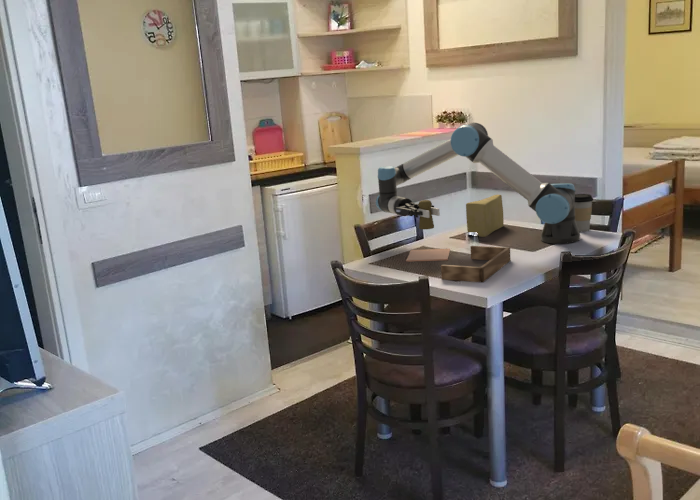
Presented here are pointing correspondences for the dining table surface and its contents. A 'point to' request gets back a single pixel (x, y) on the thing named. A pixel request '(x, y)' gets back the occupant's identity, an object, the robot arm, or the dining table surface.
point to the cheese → (485, 215)
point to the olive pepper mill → (425, 222)
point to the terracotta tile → (428, 255)
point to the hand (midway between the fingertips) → (433, 213)
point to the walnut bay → (478, 274)
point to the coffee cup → (583, 211)
